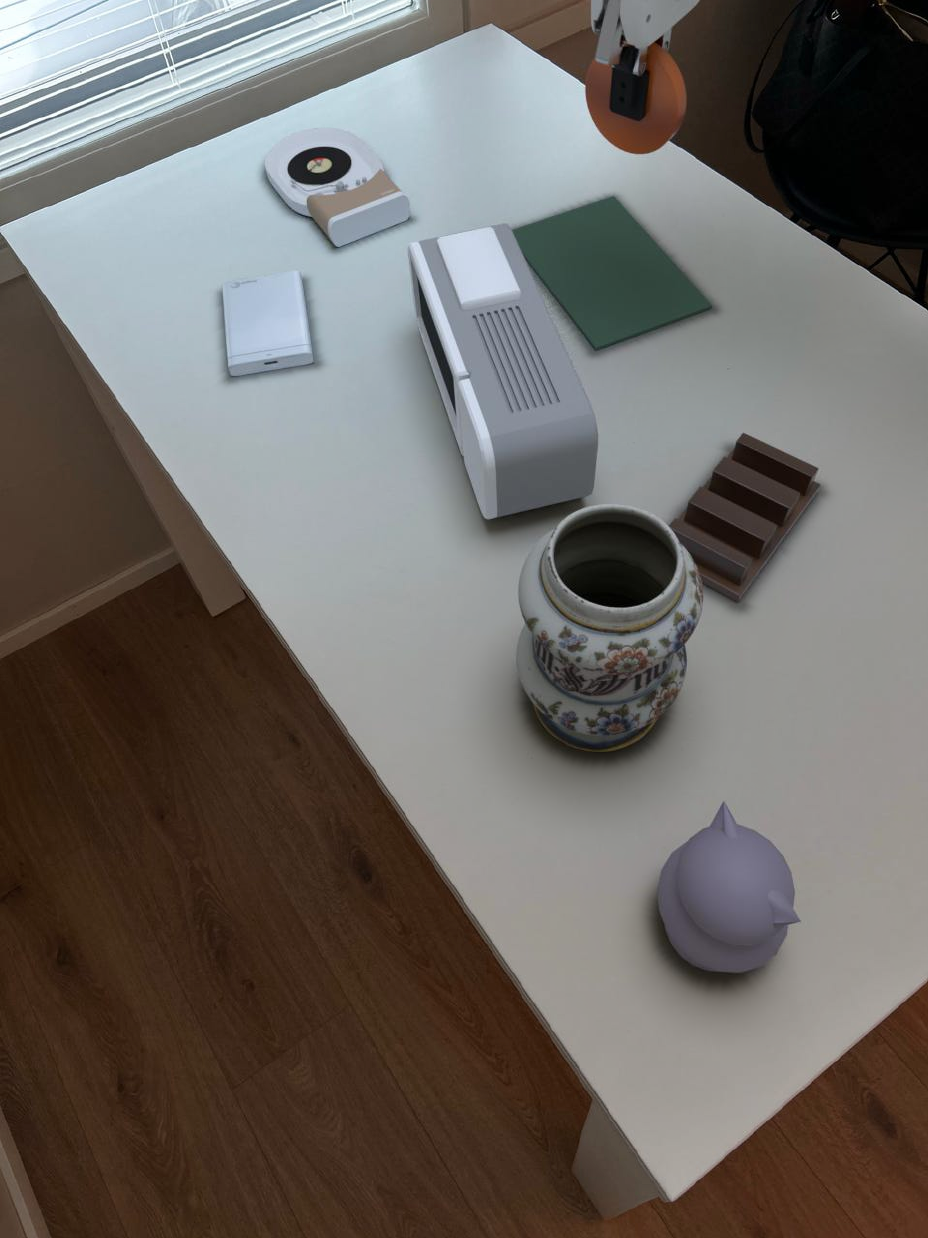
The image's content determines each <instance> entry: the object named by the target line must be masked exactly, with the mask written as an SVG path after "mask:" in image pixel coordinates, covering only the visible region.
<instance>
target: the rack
mask: <svg viewBox="0 0 928 1238" xmlns="http://www.w3.org/2000/svg"><path fill="white" fill-rule="evenodd" d="M818 471H819V467H817V466H815V465H813V464H811V463H810V462H809V463H808V462H807V461H805V460H802V459H800V458H798V457H796V456H794V455H792V454H789V453H788V452H785V451H783V450H781V449H779V448H777V447H775V446H773V445H771V444H769V443H766V442H765V441H763V440H760V439H759V438H756V437H753V436H751V435H749V434H747V433H745V432H742V433H741V435H740V436H739V437H738V438H737V440H736V441H735V445H734V448H733V449H731V451H730V452H729V454H728V455H727V456H723V457H722V459H720V461H719V462H718V463H717V464H716V466H715V467H714V468H713V470H712V473H711V476H710V477H709V479H708V480H707V481H706V483H705V484H704V485H703V486H699V487H698V488H697V490H696V491H695V492H694V494H693V495H691V497H690V499H689V500H688V501H687V505H686V507H685V509H684V510H683V512H682V513H681V514H680V515H679V516H678V517H675V518H674V519H673V520H672V521H671V522H670V524H669V525H668V526H669V527H670V528H671V530H672V531H673V532H674V534H675V535H676V537H677V538H678V540H679V542H680V543H681V544H682V545H683V546H684V547H685V548H686V550H687V551H688V552H689V554H690V555H691V557H692V558H693V560H694V562H695V564H696V566H697V568H698V571H699V573H700V577H701V581H702V585H704V586H706V587H709V588H711V590H714V591H716V592H717V593H719V594H721V595H723V596H725V597H727V598H729V599H731V600H732V601H734V602H737V603H739V602H740V600H741V599H742V598H743V596H744V595H745V594H746V592H747V591H748V589H749V588H750V587H751V585H752V583H754V581H755V579H756V578H757V577H758V575H759V574H760V572H761V571H762V570H763V568H764V567H765V566H766V564H767V563H768V562H769V560H770V559H771V557H773V554H774V553H775V552H776V551H777V549H778V548H779V546H780V545H781V544H782V542H783V541H784V540H785V538H786V536H788V534H789V532H790V531H791V530H792V528H793V527H794V526H795V524H796V523H797V521H798V520H799V519H800V517H801V516H802V515H803V513H804V512H805V510H806V509H807V508H808V507H809V505H810V503H811V502H812V500H813V499H814V498H815V496H816V495H817V494H818V492H819V490H820V488H821V483H818V482H817V481H815V479H816V477H817V474H818Z"/></svg>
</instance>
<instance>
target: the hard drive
mask: <svg viewBox="0 0 928 1238" xmlns="http://www.w3.org/2000/svg"><path fill="white" fill-rule="evenodd" d="M221 289H222V302H223V303H222V304H223V305H222V306H223V315H224V316H223V318H224V331H225V342H226V343H225V346H226V355H227V356H226V357H227V368H228V370H229V373H230V375H231V377H239V376H246V375H253V374H258V373H263V372H269V371H275V370H281V369H288V368H295V367H300V366H306V365H310V364H312V363H314V354H313V347H312V346H313V345H312V340H311V332H310V326H309V319H308V310H307V305H306V304H307V303H306V297H305V292H304V291H305V290H304V283H303V278H302V273H301V271H300V270H288V271H283V272H277V273H271V274H265V275H264V274H263V275H259V276H254V277H253V276H252V277H247V278H242V279H235V280H229V281H225V282H223V283H222V284H221Z"/></svg>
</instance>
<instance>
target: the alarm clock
mask: <svg viewBox="0 0 928 1238" xmlns="http://www.w3.org/2000/svg"><path fill="white" fill-rule="evenodd" d="M512 230H513V229H512V228H511V226H510V224H508V223H507V222H506V223H505V222H504V223H499V224H495V225H490V226H484V227H480V228H476V229H470V230H465V231H461V232H460V231H459V232H456V233H451V234H450V233H449V234H446V235H442V236H436V237H433V238H427V239H422V240H417V241H412V242H409V243H408V244H407V260H408V268H409V276H410V286H411V293H412V302H413V309H414V314H415V319H416V323H417V328H418V331H419V334H420V337H421V340H422V342H423V345H424V349H425V351H426V355H427V358H428V360H429V363H430V367H431V369H432V372H433V375H434V378H435V381H436V384H437V387H438V390H439V393H440V396H441V398H442V401H443V404H444V408H445V411H446V413H447V415H448V416H447V417H448V419H449V422H450V425H451V428H452V431H453V434H454V436H455V439H456V443H457V446H458V449H459V451H460V455H461V456H463V464H464V466H465V469H466V472H467V475H468V477H469V480H470V485H471V487H472V489H473V493H474V495H475V499H476V501H477V504H478V507H479V510H480V512H481V515H482V517H483V518H484V519H486V520H491V519H495V518H496V519H497V518H500V517H503V516H505V517H506V516H509V515H513V514H518V513H522V512H526V511H529V510H534V509H539V508H543V507H547V506H551V505H555V504H559V503H564V502H569V501H572V500H577V499H581V498H585V497H588V496H591V495H592V493H593V491H594V489H595V480H596V471H597V470H596V469H597V461H598V460H597V459H598V449H599V431H598V424H597V419H596V415H595V411H594V408H593V406H592V403H591V401H590V399H589V397H588V395H587V393H586V391H585V389H584V386H583V384H582V382H581V379H580V376H579V375H578V372H577V370H576V369H575V366H574V365H573V361H572V360H571V357H570V354H569V352H568V350H567V349H566V346H565V344H564V342H563V340H562V337H561V335H560V333H559V331H558V329H557V326H556V324H555V322H554V320H553V318H552V316H551V313H550V311H549V309H548V307H547V305H546V302H545V300H544V298H543V296H542V293H541V291H540V289H539V287H538V285H537V282H536V280H535V278H534V276H533V273H532V272H531V271H532V270H531V269H530V267H529V264H528V262H527V260H526V259H525V258H524V256H523V254H522V251H521V249H520V247H519V245H518V243H517V240H516V238H515V236H514V234H513V232H512Z"/></svg>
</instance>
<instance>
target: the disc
mask: <svg viewBox="0 0 928 1238" xmlns="http://www.w3.org/2000/svg"><path fill="white" fill-rule="evenodd" d="M623 45H625V46H629V47H631V48H632V49H633V50H634V49H635V46H634V45H631V44H628V43H627V41H624V44H623ZM645 70H647V71H650V76H649V84H648V93H647V102H646V111H645V117H644V118H643V119H642V120H641V121H635V120H633V119H630V118H627V117H624V116H621V115H619V114H616V113H613V112H611V111H610V109H609V103H610V90H611V78H612V67H610V66H609V65H606V64H603V63H600V62H597V61H596V60H595V57H594V58H593V60H592V61H591V63H590V65H589V67H588V70H587V74H586V77H585V84H584V94H585V102H586V106H587V110H588V113H589V115H590V118H591V120H592V122H593V124H594V126H595V127H596V129H597V130H598V132H599V133H600V134H601V136H603V138H604V139H605V140H606V141H608V142H609V144H611V145H613V146H614V147H615V148H617V149H618V150H620V151H623V152H624V153H628V154H632V155H646V154H652V153H654V152H656V151H659V150H660V149H661V148H663V147H664V146H665V145H666V144H668V142H669V141H670V140H671V139H673V137H674V136H675V135H676V134H677V133H678V132H679V130H680V128H681V126H682V124H683V122H684V119H685V116H686V111H687V103H688V102H687V101H688V100H687V90H686V84H685V80H684V77H683V74H682V72H681V70H680V68H679V66H678V64H677V63H676V61H675V59H674V58H673V57H672V56H671V54H670V53H669V52H668V51H667V52H666V51H665V50H664V49H663V48H662V47H661V46H659V45H658V44H657V43H655V42H653V43H652V44H651V45H649V46H648V50H647V61H646V68H645Z"/></svg>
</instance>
